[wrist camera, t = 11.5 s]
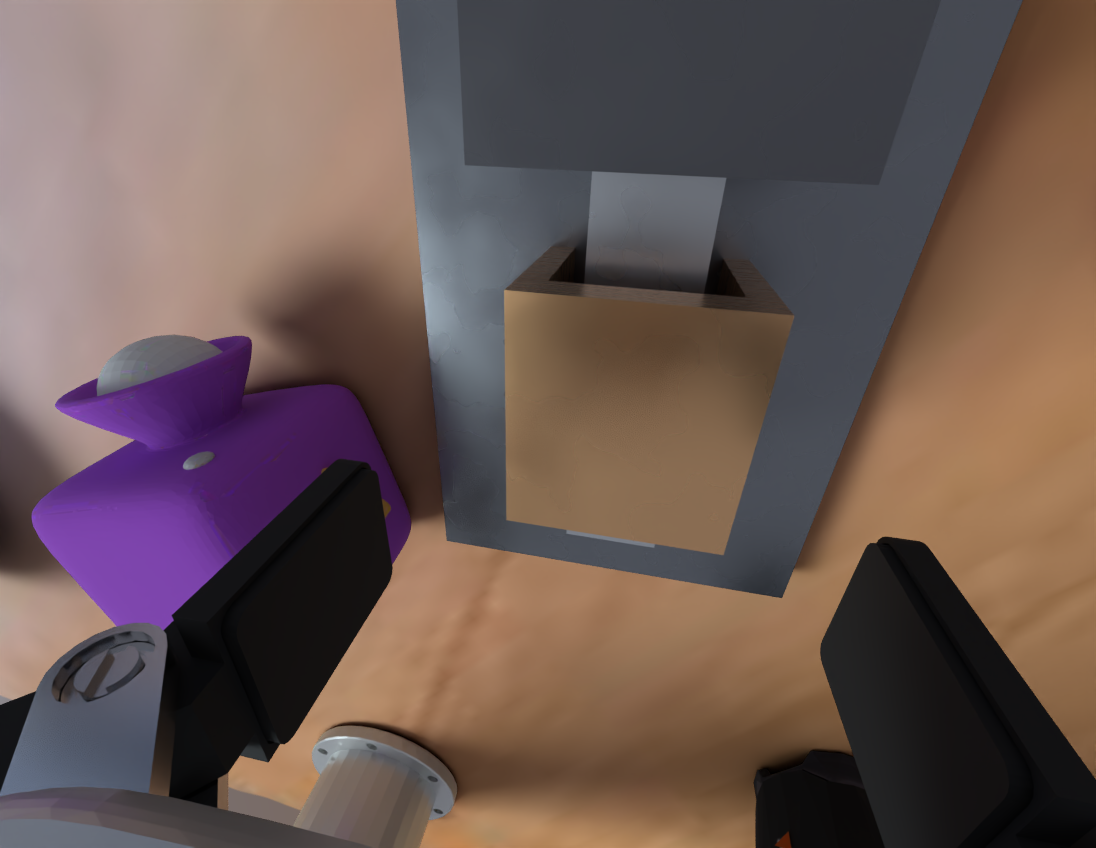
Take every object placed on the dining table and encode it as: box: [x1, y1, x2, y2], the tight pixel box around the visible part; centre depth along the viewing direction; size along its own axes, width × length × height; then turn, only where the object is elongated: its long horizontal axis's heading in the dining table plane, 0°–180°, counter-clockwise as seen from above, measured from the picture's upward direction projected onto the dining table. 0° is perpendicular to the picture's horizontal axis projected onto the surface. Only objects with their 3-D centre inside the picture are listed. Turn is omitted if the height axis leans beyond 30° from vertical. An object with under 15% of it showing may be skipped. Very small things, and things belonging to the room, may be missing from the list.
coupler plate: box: [396, 0, 1023, 598], centre depth 16 cm, size 22×16×8 cm
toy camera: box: [32, 335, 411, 630], centre depth 21 cm, size 11×14×10 cm
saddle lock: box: [504, 246, 794, 555], centre depth 15 cm, size 7×6×6 cm
